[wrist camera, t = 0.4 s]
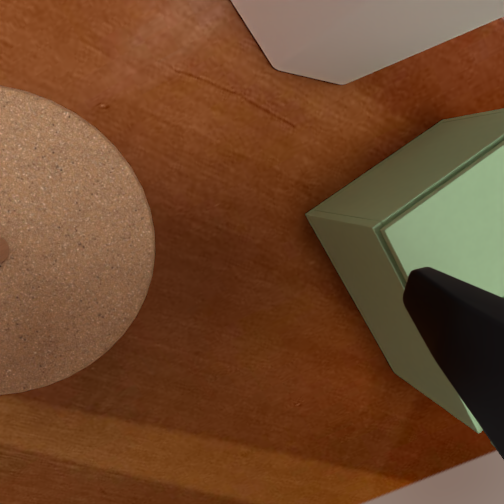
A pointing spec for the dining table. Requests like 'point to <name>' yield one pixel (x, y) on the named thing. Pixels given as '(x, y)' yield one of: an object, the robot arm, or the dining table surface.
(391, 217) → the carton
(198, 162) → the dining table surface
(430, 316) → the robot arm
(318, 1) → the cup
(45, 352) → the trinket box
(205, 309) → the dining table surface
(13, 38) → the dining table surface
